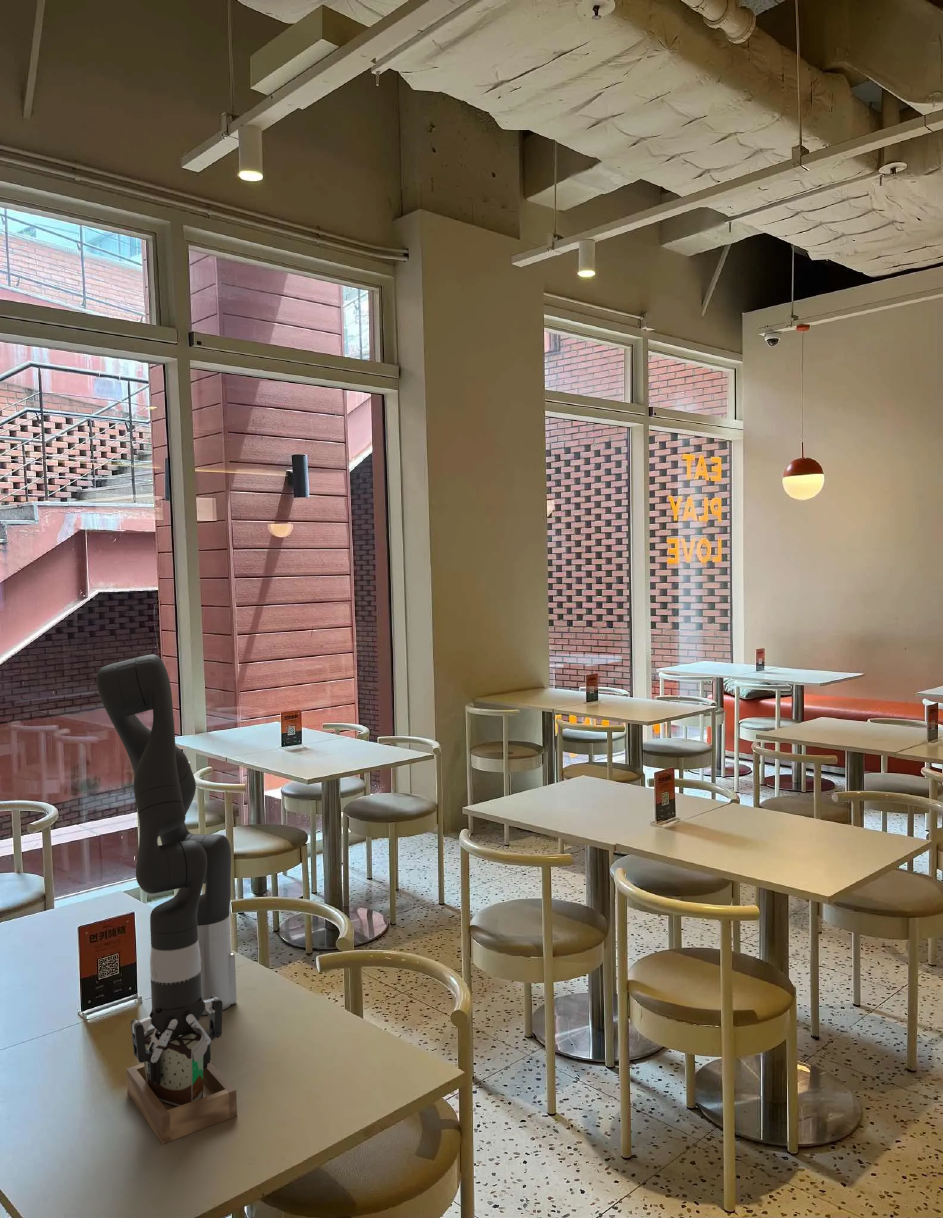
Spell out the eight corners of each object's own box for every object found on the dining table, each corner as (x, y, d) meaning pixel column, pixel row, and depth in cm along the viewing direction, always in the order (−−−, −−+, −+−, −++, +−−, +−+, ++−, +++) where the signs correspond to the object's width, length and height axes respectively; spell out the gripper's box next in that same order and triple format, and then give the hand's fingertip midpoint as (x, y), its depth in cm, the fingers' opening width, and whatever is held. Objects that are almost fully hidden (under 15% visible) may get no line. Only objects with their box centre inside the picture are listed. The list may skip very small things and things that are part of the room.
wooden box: (197, 1069, 156) (196, 1046, 156) (237, 1115, 142) (236, 1090, 142) (127, 1093, 149) (126, 1068, 149) (162, 1144, 135) (161, 1117, 135)
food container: (228, 1091, 146) (223, 1029, 145) (199, 1113, 140) (194, 1049, 140) (172, 1075, 151) (167, 1015, 151) (142, 1095, 146) (137, 1034, 146)
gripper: (211, 951, 152) (215, 1050, 153) (121, 975, 144) (126, 1080, 144) (229, 965, 146) (232, 1069, 146) (136, 991, 137) (140, 1101, 138)
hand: (179, 1074), depth 145 cm, fingers closed on food container, 7 cm apart
